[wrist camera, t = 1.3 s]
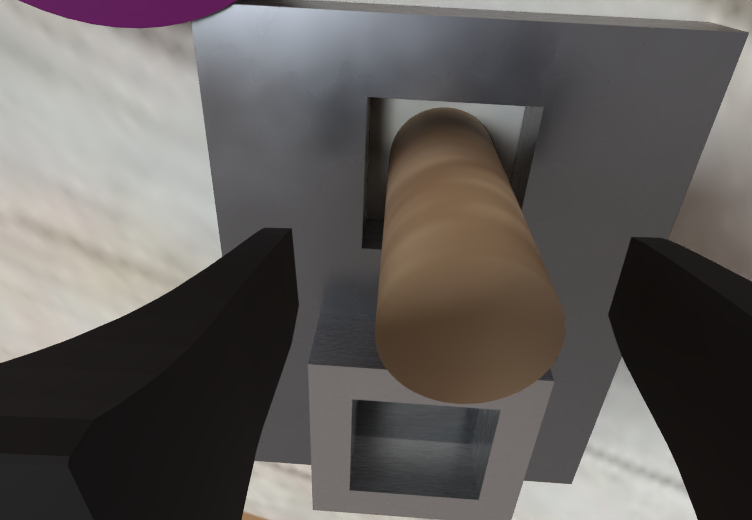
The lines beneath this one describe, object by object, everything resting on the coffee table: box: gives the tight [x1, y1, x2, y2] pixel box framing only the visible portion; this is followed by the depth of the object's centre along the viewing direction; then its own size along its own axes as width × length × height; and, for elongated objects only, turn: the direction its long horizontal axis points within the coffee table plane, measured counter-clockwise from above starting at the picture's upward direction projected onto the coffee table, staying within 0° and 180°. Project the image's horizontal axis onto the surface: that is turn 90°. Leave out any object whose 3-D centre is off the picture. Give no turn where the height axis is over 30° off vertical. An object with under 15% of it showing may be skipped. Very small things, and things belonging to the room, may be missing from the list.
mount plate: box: [191, 0, 749, 520], centre depth 17 cm, size 14×18×4 cm
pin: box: [375, 108, 566, 404], centre depth 13 cm, size 3×3×9 cm
